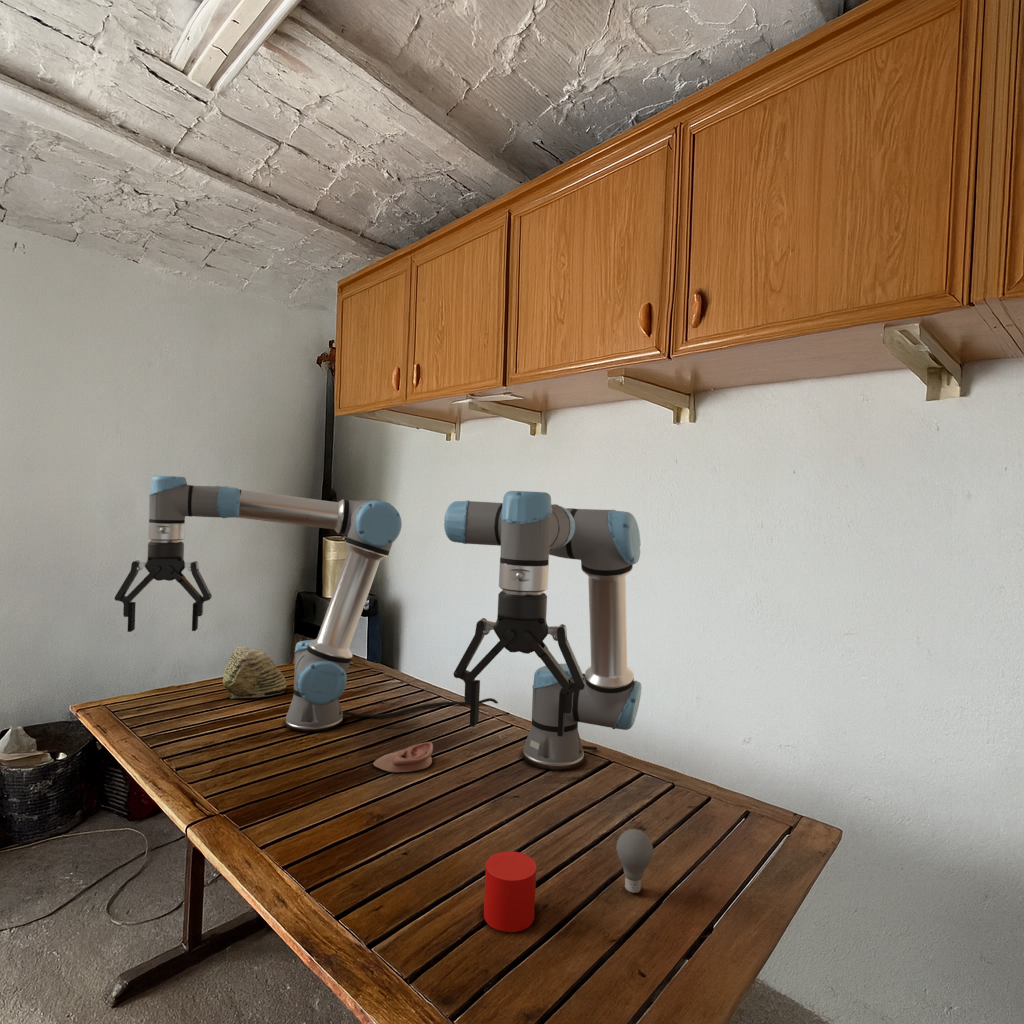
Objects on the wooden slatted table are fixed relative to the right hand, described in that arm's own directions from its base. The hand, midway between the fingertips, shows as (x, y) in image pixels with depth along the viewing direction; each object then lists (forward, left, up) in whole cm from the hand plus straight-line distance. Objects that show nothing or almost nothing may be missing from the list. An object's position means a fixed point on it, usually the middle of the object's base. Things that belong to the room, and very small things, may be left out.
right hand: (516, 728), depth 98 cm
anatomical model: (-1, -60, -29) cm, 66 cm away
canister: (0, 0, -29) cm, 29 cm away
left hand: (+51, -85, +1) cm, 99 cm away
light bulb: (-22, +3, -29) cm, 37 cm away
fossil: (+27, -125, -29) cm, 131 cm away
